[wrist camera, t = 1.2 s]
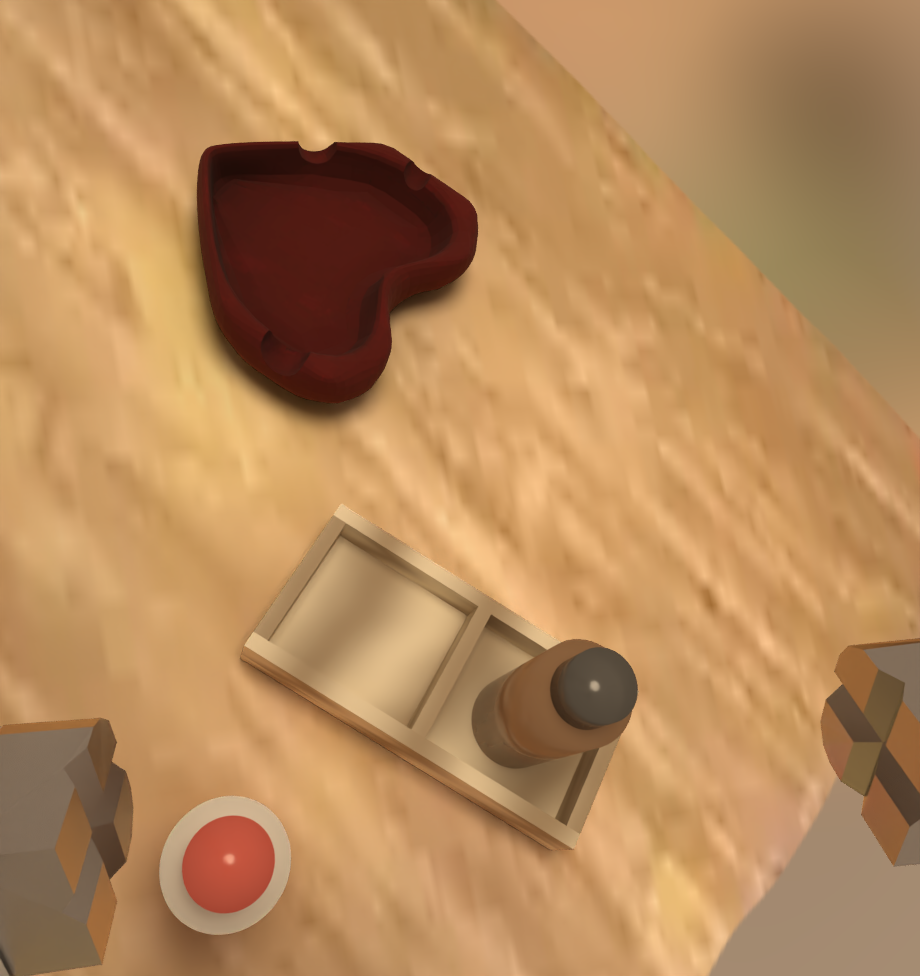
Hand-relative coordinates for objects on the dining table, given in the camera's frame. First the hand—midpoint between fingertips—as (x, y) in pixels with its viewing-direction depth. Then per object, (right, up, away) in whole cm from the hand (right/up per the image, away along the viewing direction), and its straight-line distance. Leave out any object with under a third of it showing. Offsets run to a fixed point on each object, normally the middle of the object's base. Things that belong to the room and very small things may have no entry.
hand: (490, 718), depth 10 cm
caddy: (-2, -8, +37) cm, 38 cm away
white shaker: (-12, -15, +31) cm, 36 cm away
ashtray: (-10, +16, +45) cm, 49 cm away
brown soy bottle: (+3, -10, +36) cm, 38 cm away
